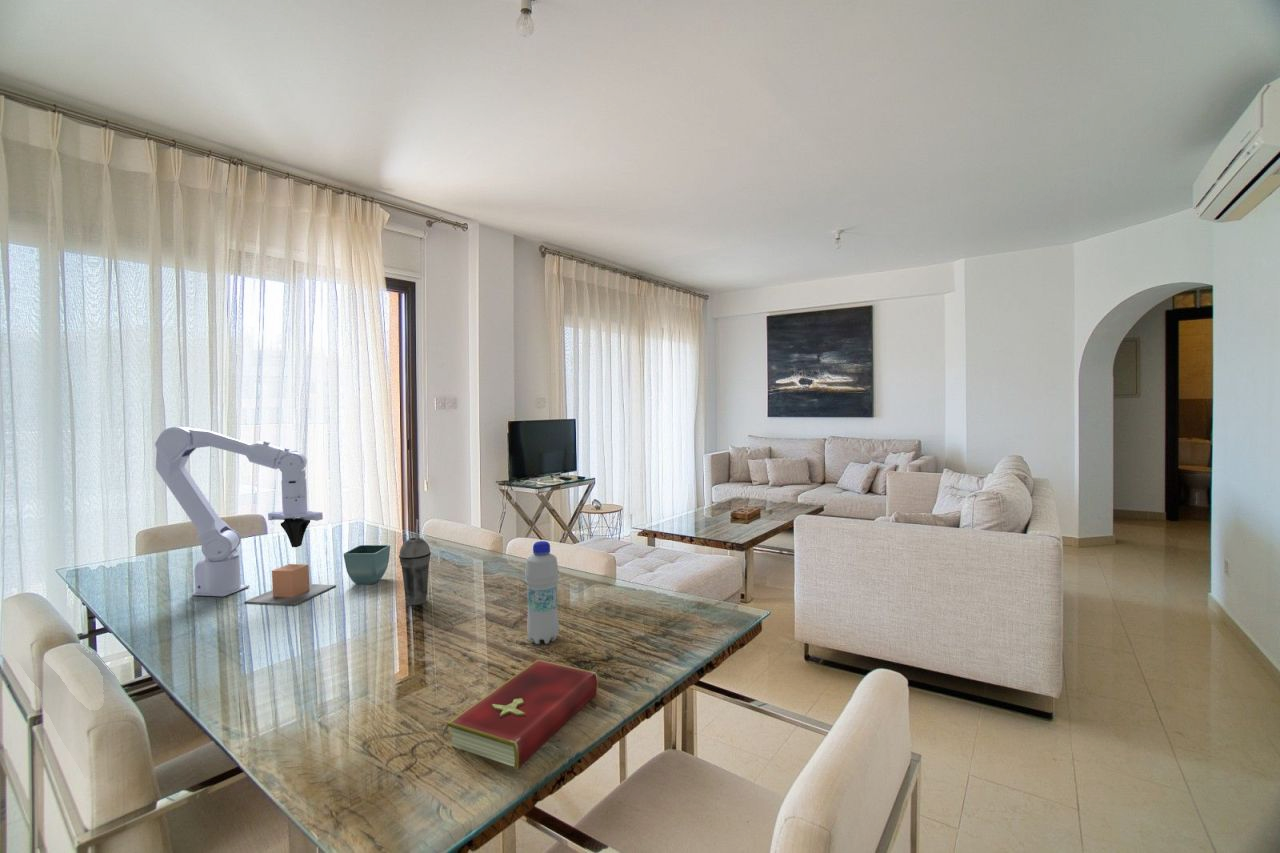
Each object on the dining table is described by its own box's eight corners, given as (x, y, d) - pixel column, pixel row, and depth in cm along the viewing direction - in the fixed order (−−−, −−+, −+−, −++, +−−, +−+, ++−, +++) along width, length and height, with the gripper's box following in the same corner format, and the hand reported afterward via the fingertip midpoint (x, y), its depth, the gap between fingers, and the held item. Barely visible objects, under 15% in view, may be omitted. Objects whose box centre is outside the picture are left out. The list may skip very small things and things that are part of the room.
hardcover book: (598, 696, 92) (598, 671, 91) (517, 774, 73) (516, 742, 72) (538, 681, 97) (537, 657, 97) (448, 750, 78) (447, 721, 78)
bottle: (565, 635, 115) (563, 538, 114) (550, 648, 109) (547, 546, 108) (537, 631, 117) (534, 536, 116) (519, 644, 111) (517, 544, 110)
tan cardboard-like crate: (272, 596, 140) (271, 570, 140) (290, 589, 146) (289, 564, 145) (292, 597, 139) (291, 571, 139) (309, 589, 145) (308, 564, 144)
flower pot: (376, 586, 148) (375, 553, 147) (343, 587, 148) (342, 553, 148) (392, 576, 156) (391, 544, 156) (360, 576, 157) (359, 544, 156)
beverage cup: (393, 605, 134) (390, 522, 133) (416, 595, 141) (413, 516, 140) (417, 608, 131) (414, 524, 130) (439, 598, 138) (436, 518, 137)
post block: (244, 603, 137) (243, 581, 137) (289, 584, 151) (288, 564, 150) (295, 605, 134) (294, 583, 134) (335, 586, 148) (335, 566, 148)
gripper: (258, 499, 148) (260, 549, 149) (308, 499, 147) (311, 550, 147) (278, 494, 155) (280, 543, 156) (327, 494, 154) (328, 543, 154)
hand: (296, 546), depth 152 cm, fingers closed
